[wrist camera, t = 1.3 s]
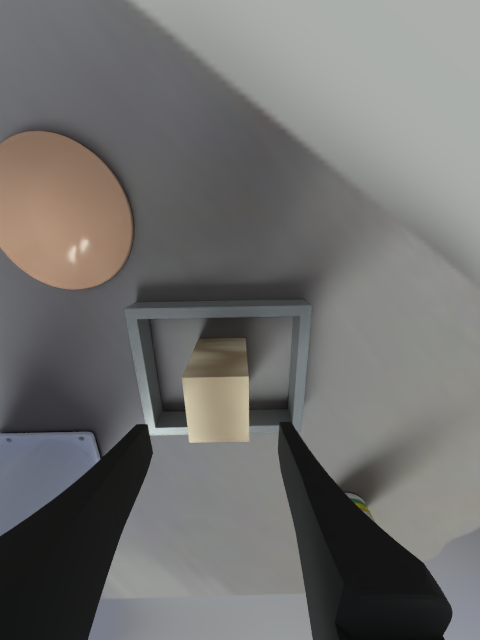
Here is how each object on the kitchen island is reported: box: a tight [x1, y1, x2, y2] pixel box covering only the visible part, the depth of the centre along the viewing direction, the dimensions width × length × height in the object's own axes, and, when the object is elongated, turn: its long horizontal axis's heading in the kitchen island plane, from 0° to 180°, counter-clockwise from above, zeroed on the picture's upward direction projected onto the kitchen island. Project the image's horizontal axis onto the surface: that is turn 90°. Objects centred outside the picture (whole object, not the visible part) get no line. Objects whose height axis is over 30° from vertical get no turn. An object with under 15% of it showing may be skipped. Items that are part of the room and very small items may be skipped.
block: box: [182, 338, 249, 443], centre depth 17 cm, size 4×5×6 cm
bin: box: [124, 299, 312, 435], centre depth 19 cm, size 14×12×2 cm
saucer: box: [0, 131, 134, 290], centre depth 16 cm, size 10×10×1 cm
